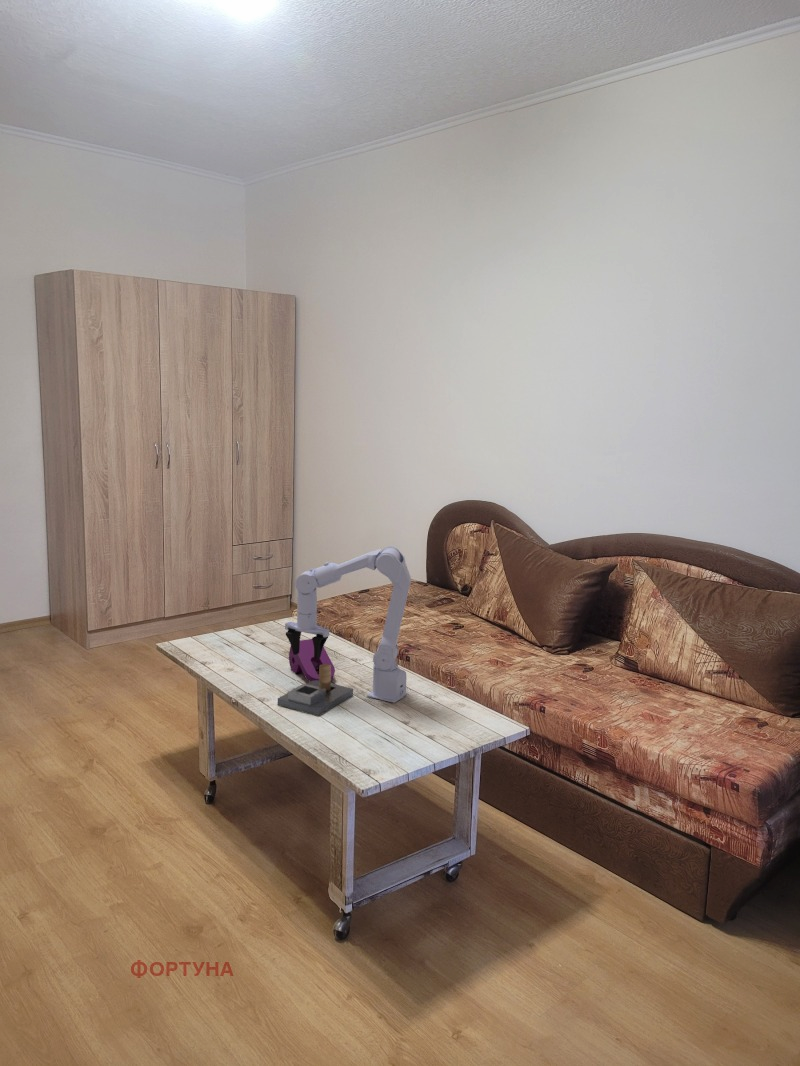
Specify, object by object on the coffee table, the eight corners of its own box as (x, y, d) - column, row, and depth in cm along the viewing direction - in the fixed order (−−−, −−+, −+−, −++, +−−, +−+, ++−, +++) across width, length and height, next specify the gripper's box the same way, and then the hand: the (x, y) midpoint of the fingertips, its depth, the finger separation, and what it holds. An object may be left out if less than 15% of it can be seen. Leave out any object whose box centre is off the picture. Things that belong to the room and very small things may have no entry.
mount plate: (353, 695, 237) (353, 680, 236) (318, 715, 221) (318, 700, 221) (313, 685, 244) (314, 671, 243) (277, 705, 228) (277, 690, 227)
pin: (332, 694, 237) (333, 665, 235) (326, 698, 234) (326, 668, 233) (323, 692, 239) (323, 663, 237) (316, 695, 236) (317, 666, 234)
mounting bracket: (334, 696, 250) (314, 657, 263) (339, 677, 246) (319, 637, 258) (305, 701, 246) (287, 660, 258) (310, 681, 241) (291, 641, 254)
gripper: (335, 612, 236) (334, 656, 239) (294, 605, 243) (294, 648, 245) (322, 618, 230) (321, 663, 233) (280, 610, 237) (280, 654, 239)
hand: (306, 656), depth 239 cm, fingers open, 7 cm apart
